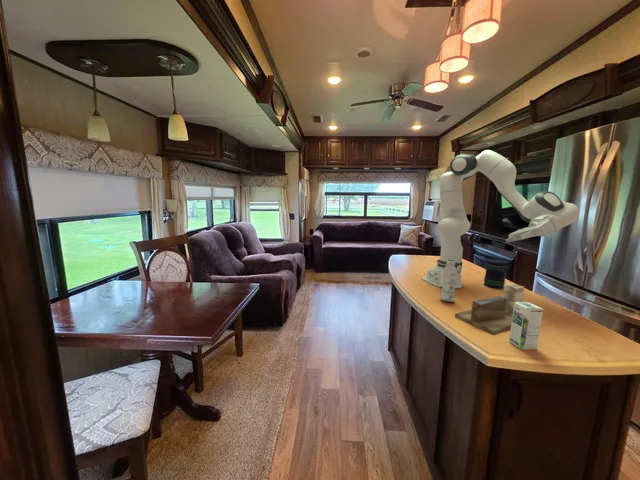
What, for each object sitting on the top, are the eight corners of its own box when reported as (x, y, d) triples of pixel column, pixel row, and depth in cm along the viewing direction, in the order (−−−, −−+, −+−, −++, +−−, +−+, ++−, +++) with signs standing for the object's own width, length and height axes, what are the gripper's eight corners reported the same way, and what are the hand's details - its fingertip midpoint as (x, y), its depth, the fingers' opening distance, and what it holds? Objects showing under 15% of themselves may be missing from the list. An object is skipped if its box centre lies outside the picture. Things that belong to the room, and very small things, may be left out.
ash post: (500, 313, 118) (504, 284, 116) (507, 311, 120) (511, 283, 118) (512, 318, 113) (516, 288, 111) (520, 316, 115) (524, 286, 113)
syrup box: (508, 341, 95) (513, 301, 93) (523, 340, 95) (529, 301, 93) (521, 350, 89) (527, 308, 87) (538, 349, 90) (544, 308, 88)
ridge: (454, 316, 114) (456, 296, 112) (483, 310, 121) (485, 290, 120) (492, 334, 100) (495, 311, 98) (522, 325, 107) (525, 303, 106)
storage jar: (479, 284, 158) (482, 259, 156) (491, 282, 161) (494, 258, 159) (495, 290, 149) (499, 263, 146) (508, 288, 152) (511, 262, 150)
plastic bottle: (456, 301, 132) (460, 260, 129) (452, 304, 127) (456, 263, 124) (442, 297, 136) (446, 258, 133) (438, 301, 131) (441, 260, 128)
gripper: (521, 224, 131) (496, 237, 131) (555, 214, 111) (525, 228, 111) (528, 236, 130) (503, 248, 130) (564, 228, 110) (534, 242, 110)
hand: (513, 239), depth 120 cm, fingers open, 8 cm apart
